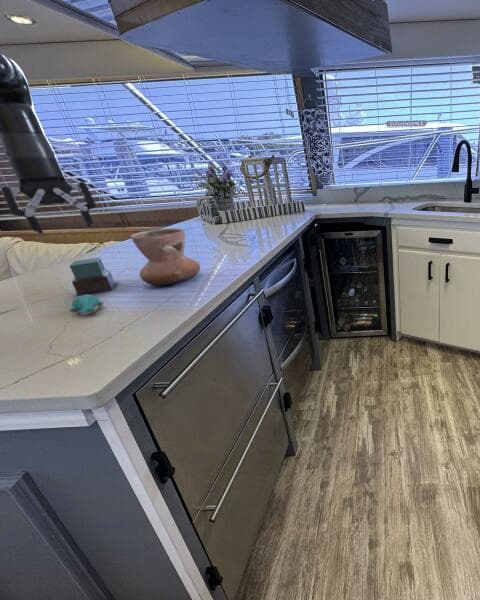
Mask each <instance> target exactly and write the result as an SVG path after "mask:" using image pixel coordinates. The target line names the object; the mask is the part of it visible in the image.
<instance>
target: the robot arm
mask: <svg viewBox="0 0 480 600" xmlns="http://www.w3.org/2000/svg"><path fill="white" fill-rule="evenodd" d="M0 144H1V145H0V146H1V147H2V149H3V152H4V154H5V156H6V157H7V159H8V162H9V164H10V166H11V168H12V170H13V173H14V174H15V176H16V179H17V180H18V182H19V183H18V184H19V186H2V187H1V188H0V190H1V192H2V195H3V197H4V200H5V202H6V204H7V207H8V209H9V211H10V214H12V215H13V216H18V217H19V216H20V217H24V218H25V219H26V221H27V223H28V225H29V226H30V228H31V230H32V231H33V232H37V233H38V234H44V232H43V229H42V227H41V226H40V223H39V221H38V219H37V218H36V216H35V215H34V214H35V212H36V210H37V208H38V206H39V205H41V204H42V205H45V206H46V205H53V204H64V203H66V202H67V203H68V204H70V205H72V206H74V207H75V208H76V209H78V210H79V214H80V216H81V218H82V221H83V223H84V225H85V227H86V228H91V227H92V225H93V223H94V222H93V221H94V220H93V219H92V216H91V214H90V210H91V209H94V208H96V207H97V204H96V202H95V200H94V198H93V196H92V193H91V192H90V190H89V188H88V185H87V184H86V183H85V182H83V181H79V182H77V183H70V182H69V181H67V179H66V178H65V175H64V172H63V170H62V167H61V165H60V163H59V160H58V158H57V155H56V152H55V150H54V149H53V147H52V145H51V143H50V141H49V139H48V137H47V136H46V134H45V132H44V129H43V127H42V125H41V122H40V119H39V118H38V116H37V113H36V112H35V108H34V102H33V98H32V94H31V89H30V87H29V83H28V81H27V78H26V77H25V74H24V72H23V70H22V69H21V67H20V66H19V65H18V64H17V63H16V62H15V61H14V60H13V59H12V58H10V57H9V56H7V55H6V54H4V53H2V52H0ZM73 189H74V190H75V191H76V192H77V193H81V195H82V196H83V199H84V201H85V203H84V204H82V203H81V202H80V201H78V200H76V199H75V198H74V197H72V196H71V195H70V194H71V192H72V190H73ZM20 192H21V193H22V194H24V195H25V196H27V197H29V198H30V199H29V201H28V203H27V205H26V207H25V209H24V210H23V209H19V208H18V205H17V202H16V200H15V198H16V197H18V195H19V194H18V193H20Z"/></svg>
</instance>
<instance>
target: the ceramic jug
mask: <svg viewBox="0 0 480 600" xmlns="http://www.w3.org/2000/svg"><path fill="white" fill-rule="evenodd" d="M130 238H131V240H132V242H133V244H134V245H135V246H136V248H137V249H138V250H139V252H140V253H141V254H142V255H143V256H144V257H145V258H146V259H147V260H148V261H147V263H146V264H145V265H144V266H143V267H142V268H141V269H140V271H139V278H140V279H141V280H142V281H143V282H144V283H146V284H149V285H154V286H169V285H170V286H171V285H175V284H176V285H177V284H179V283H184V282H186V281H189V280H191V279H192V278H194V277H195V276H197V275H198V274H199V272H200V270H201V265H200V263H199V262H198V261H197V260H195V259H193V258H190V257H188V256H185V254H184V252H185V245H186V232H185V229H182V228H158V229H149V230H145V231H140V232H139V231H138V232H135V233H134V234H131V235H130Z"/></svg>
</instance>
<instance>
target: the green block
mask: <svg viewBox="0 0 480 600" xmlns="http://www.w3.org/2000/svg"><path fill="white" fill-rule="evenodd" d="M69 268H70V270H71V273H72V274H73V278H75V279H76V280H81V279H87V278H93V277H99V276H103V275H104V273H105V271H106V270H107V269H106V268H105V266H104V263H103V260H102V259H101V257H94V258H88V259H80V260H74V261H73V262H72V263H70V265H69Z"/></svg>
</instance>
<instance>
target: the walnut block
mask: <svg viewBox="0 0 480 600" xmlns="http://www.w3.org/2000/svg"><path fill="white" fill-rule="evenodd" d="M105 270H106V271H105V273H104V275H103V276H99V277H93V278H87V279H81V280H76V279H75V277H73V279H72V281H71V283H72V285H73V288H74V290H75V292H76V294H77V297H79V296H81V295H92V294H96V293H101V292H107V291H112V290H113V288H114V286H115V283H116V281H115V279H114V277H113V275H112V273H111V270H110V269H105Z"/></svg>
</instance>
